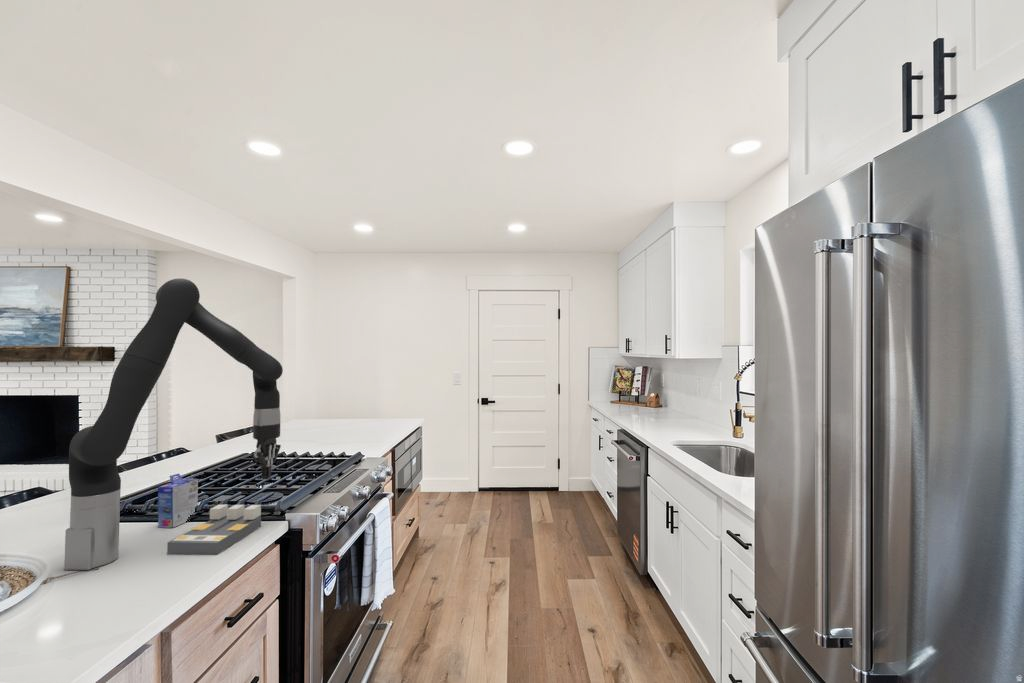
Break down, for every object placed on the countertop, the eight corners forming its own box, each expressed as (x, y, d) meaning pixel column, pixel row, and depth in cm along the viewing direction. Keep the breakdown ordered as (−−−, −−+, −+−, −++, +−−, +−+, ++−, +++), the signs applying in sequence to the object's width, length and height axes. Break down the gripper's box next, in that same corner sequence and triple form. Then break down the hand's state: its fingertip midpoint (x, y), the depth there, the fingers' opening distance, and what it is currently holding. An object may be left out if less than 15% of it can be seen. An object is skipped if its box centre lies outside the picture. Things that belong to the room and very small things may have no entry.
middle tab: (236, 519, 135) (236, 509, 136) (226, 519, 135) (226, 509, 136) (244, 514, 139) (244, 504, 140) (235, 514, 139) (235, 504, 140)
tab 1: (219, 519, 136) (219, 508, 136) (209, 519, 136) (210, 508, 136) (227, 514, 140) (228, 504, 140) (218, 514, 140) (218, 504, 140)
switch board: (218, 554, 119) (218, 542, 119) (166, 554, 119) (166, 542, 120) (261, 526, 139) (262, 516, 139) (217, 526, 139) (217, 515, 140)
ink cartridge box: (182, 516, 148) (183, 470, 148) (198, 517, 147) (199, 471, 148) (155, 527, 138) (157, 478, 139) (172, 528, 138) (174, 479, 138)
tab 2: (253, 519, 135) (253, 509, 135) (243, 519, 135) (243, 509, 135) (260, 515, 139) (261, 504, 139) (251, 514, 139) (251, 504, 139)
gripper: (266, 419, 152) (265, 473, 151) (242, 425, 139) (241, 484, 138) (289, 419, 152) (288, 473, 151) (267, 425, 139) (266, 484, 138)
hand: (266, 478), depth 145 cm, fingers closed
